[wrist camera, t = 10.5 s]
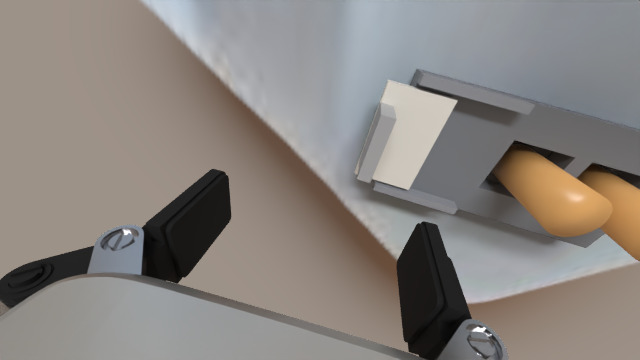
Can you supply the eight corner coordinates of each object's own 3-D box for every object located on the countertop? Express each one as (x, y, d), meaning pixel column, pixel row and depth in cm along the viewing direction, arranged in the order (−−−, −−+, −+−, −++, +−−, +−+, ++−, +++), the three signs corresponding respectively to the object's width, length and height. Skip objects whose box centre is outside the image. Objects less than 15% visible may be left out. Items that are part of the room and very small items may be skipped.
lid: (454, 97, 20) (474, 114, 16) (407, 184, 26) (413, 213, 21) (387, 79, 21) (390, 90, 16) (355, 169, 26) (351, 194, 22)
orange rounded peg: (575, 158, 23) (670, 217, 16) (615, 170, 23) (732, 235, 15) (545, 189, 25) (615, 254, 18) (582, 200, 25) (669, 270, 18)
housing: (679, 140, 21) (735, 160, 17) (569, 231, 27) (595, 258, 24) (417, 68, 22) (423, 74, 19) (373, 172, 29) (373, 190, 25)
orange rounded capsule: (543, 148, 23) (628, 200, 16) (520, 181, 25) (585, 241, 18) (502, 141, 24) (566, 189, 16) (482, 174, 26) (530, 230, 18)
